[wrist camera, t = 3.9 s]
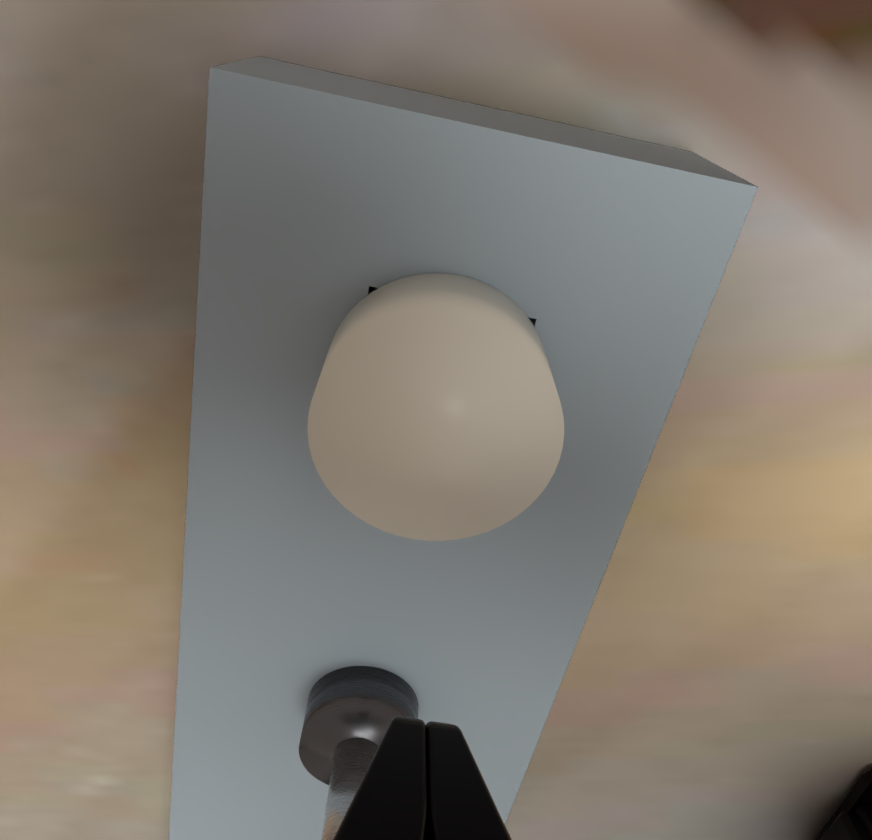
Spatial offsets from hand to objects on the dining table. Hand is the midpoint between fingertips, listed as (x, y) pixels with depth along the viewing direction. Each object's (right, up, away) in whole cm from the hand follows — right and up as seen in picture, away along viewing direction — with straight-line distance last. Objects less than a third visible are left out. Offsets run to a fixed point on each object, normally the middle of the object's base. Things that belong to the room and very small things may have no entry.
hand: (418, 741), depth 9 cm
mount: (-2, -2, +14) cm, 15 cm away
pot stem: (-2, -4, +11) cm, 12 cm away
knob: (0, +6, +9) cm, 11 cm away
